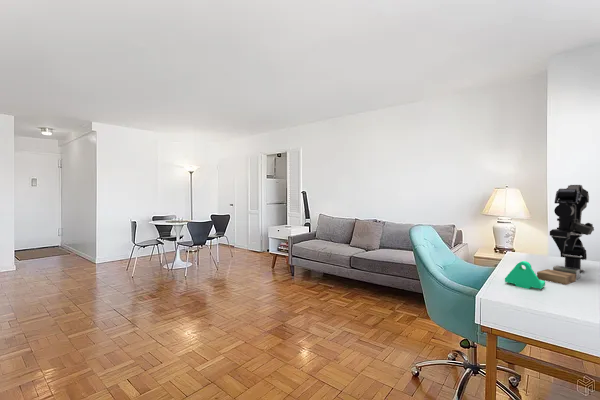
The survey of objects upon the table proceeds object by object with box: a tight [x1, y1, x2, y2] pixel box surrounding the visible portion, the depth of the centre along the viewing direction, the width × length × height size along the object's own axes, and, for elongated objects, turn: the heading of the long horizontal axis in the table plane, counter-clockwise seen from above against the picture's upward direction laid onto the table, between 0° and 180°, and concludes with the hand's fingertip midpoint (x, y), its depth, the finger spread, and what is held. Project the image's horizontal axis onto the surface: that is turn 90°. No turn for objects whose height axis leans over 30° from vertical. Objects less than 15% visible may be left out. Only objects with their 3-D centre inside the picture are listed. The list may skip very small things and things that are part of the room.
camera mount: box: [504, 260, 546, 290], centre depth 123 cm, size 12×8×10 cm, turn 41°
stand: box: [536, 268, 577, 286], centre depth 130 cm, size 10×10×3 cm
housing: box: [552, 265, 581, 281], centre depth 135 cm, size 5×8×4 cm, turn 35°
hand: (566, 251), depth 135 cm, fingers open, 9 cm apart
